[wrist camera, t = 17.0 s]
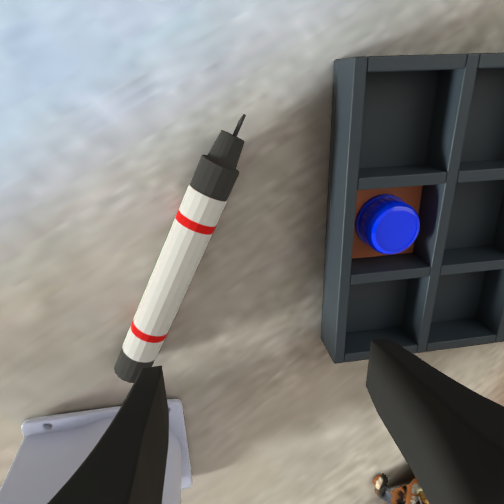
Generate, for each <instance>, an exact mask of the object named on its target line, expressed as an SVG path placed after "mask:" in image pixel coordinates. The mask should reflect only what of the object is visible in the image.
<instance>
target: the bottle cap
mask: <svg viewBox="0 0 504 504" xmlns="http://www.w3.org/2000/svg"><path fill="white" fill-rule="evenodd" d="M355 229H356V233H357V235H358V237H359V238H360V239H361V240H362V241H363V242H364V243H366V244H367V245H369V246H371V247H372V248H373V249H374V250H375V251H377V252H379V253H382V254H396V253H399V252H402V251H404V250H405V249H407V248H408V247H410V246H411V244H412V243H413V242H414V241H415V239H416V237H417V236H418V233H419V229H420V222H419V217H418V214H417V212H416V211H415V210H414V208H412V207H411V206H410V205H408V204H406V203H405V202H404V201H403V200H402V199H400V198H399V197H397V196H395V195H392V194H380V195H377V196H374V197H372V198H370V199H369V200H368V201H366V202H365V203H364V204H363V206H362V207H361V208H360V210H359V212H358V214H357V216H356V220H355Z"/></svg>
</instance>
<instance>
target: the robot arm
mask: <svg viewBox="0 0 504 504" xmlns="http://www.w3.org/2000/svg"><path fill="white" fill-rule="evenodd" d="M366 387H367V389H368V391H369V394H370V396H371V399H372V401H373V403H374V406H375V408H376V410H377V412H378V414H379V416H380V417H381V419H382V421H383V423H384V424H385V426H386V428H387V429H388V431H389V433H390V435H391V436H392V438H393V440H394V441H395V443H396V445H397V446H398V448H399V450H400V451H401V453H402V455H403V456H404V458H405V460H406V461H407V463H408V465H409V466H410V468H411V470H412V471H413V473H414V475H415V477H416V479H417V481H418V482H419V484H420V486H421V488H422V490H423V492H424V495H425V497H426V499H427V501H428V503H429V504H504V407H503V406H501V405H499V404H497V403H495V402H493V401H491V400H489V399H487V398H485V397H483V396H481V395H479V394H478V393H476V392H474V391H472V390H470V389H469V388H467V387H465V386H463V385H462V384H460V383H458V382H456V381H455V380H453V379H451V378H450V377H448V376H446V375H445V374H443V373H441V372H440V371H438V370H437V369H435V368H434V367H432V366H430V365H429V364H427V363H426V362H424V361H423V360H421V359H420V358H418V357H417V356H415V355H414V354H412V353H411V352H409V351H408V350H406V349H405V348H403V347H402V346H400V345H399V344H397V343H396V342H394V341H392V340H391V339H389V338H381V339H373V340H371V345H370V354H369V363H368V372H367V381H366ZM168 407H169V408H168ZM46 423H50V424H51V425H50V424H46ZM21 429H22V432H23V435H24V439H23V441H22V443H21V445H20V448H19V450H18V452H17V454H16V456H15V459H14V461H13V463H12V465H11V467H10V470H9V472H8V474H7V476H6V478H5V481H4V483H3V485H2V487H1V489H0V504H181V490H182V489H187V488H189V487H191V485H192V473H191V465H190V458H189V451H188V443H187V436H186V428H185V421H184V414H183V406H182V402H181V401H180V400H178V399H168V400H167V398H166V391H165V385H164V378H163V372H162V366H156V367H148V368H142V369H141V370H140V371H139V374H138V376H137V378H136V380H135V382H134V384H133V386H132V388H131V390H130V392H129V393H128V395H127V397H126V399H125V401H124V402H123V404H122V406H116V407H109V408H101V409H94V410H87V411H79V412H72V413H65V414H57V415H50V416H42V417H35V418H29V419H26V420H25V421H24V423H23V425H22V427H21Z"/></svg>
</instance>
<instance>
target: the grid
mask: <svg viewBox="0 0 504 504" xmlns="http://www.w3.org/2000/svg"><path fill="white" fill-rule="evenodd" d="M380 194H392V195H395V196H397V197H399V198H400V199H402V200H403V201H404V202H405V203H406V204H408V205H410V206H411V207H412V208H414V210H415V211H416V212H417V214H418V217H419V222H420V229H419V233H418V236H417V237H416V239H415V241H414V242H413V243H412V244H411V246H410V247H408V248H407V249H405V250H404V251H402V252H399V253H396V254H382V253H379V252H377V251H375V250H374V249H373V248H372V247H371V246H369V245H367V244H366V243H364V242H363V241H362V240H361V239H360V238H359V237H358V235H357V233H356V229H355V220H356V216H357V214H358V212H359V210H360V208H361V207H362V206H363V204H364V203H365V202H366V201H368V200H369V199H370V198H372V197H374V196H377V195H380ZM381 338H389V339H391V340H392V341H394V342H396V343H397V344H399V345H400V346H402V347H403V348H405V349H406V350H408V351H409V352H411V353H416V352H417V353H420V352H425V351H435V350H443V349H450V348H458V347H466V346H473V345H481V344H488V343H494V342H503V341H504V53H472V54H435V55H398V56H368V57H366V56H362V57H350V58H343V59H336V60H335V61H334V79H333V99H332V120H331V141H330V161H329V182H328V202H327V223H326V244H325V264H324V285H323V305H322V326H321V339H322V341H323V343H324V345H325V347H326V349H327V351H328V353H329V354H330V356H331V358H332V360H333V362H334V363H343V362H351V361H358V360H366V359H369V354H370V345H371V340H373V339H381Z"/></svg>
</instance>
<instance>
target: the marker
mask: <svg viewBox="0 0 504 504" xmlns="http://www.w3.org/2000/svg"><path fill="white" fill-rule="evenodd" d="M245 116H246V115H245V114H244V115H243V116H242V117H241V118H240V120H239V122H238V124H237V126H236V129H235V131H234V133H233V135H232V134H230V133H228V132H225V131H223V130H221V132H220V134H219V136H218V138H217V139H216V141H215V143H214V145H213V147H212V148H211V150H210V152H209V154H208V156H207V155H202V157H201V159H200V162H199V164H198V167H197V169H196V171H195V174H194V176H193V179H192V181H191V183H190V184H189V186H188V188H187V191H186V193H185V196H184V198H183V201H182V203H181V205H180V208H179V210H178V213H177V215H176V217H175V220H174V222H173V225H172V227H171V230H170V232H169V234H168V237H167V239H166V242H165V244H164V246H163V249H162V251H161V254H160V256H159V259H158V261H157V263H156V266H155V268H154V271H153V273H152V275H151V278H150V280H149V283H148V285H147V288H146V290H145V292H144V295H143V297H142V300H141V302H140V304H139V307H138V309H137V312H136V314H135V317H134V319H133V321H132V324H131V326H130V329H129V331H128V333H127V336H126V338H125V341H124V343H123V347H122V350H121V352H120V355H119V357H118V360H117V362H116V364H115V368H114V369H115V373H116V374H117V375H118V377H119V378H121V379H122V380H124V381H127V382H130V383H134V382H135V380H136V378H137V376H138V374H139V371H140V370H141V369H142V368H148V367H152V365H153V363H154V360H155V359H156V357H157V356H158V353H159V351H160V349H161V347H162V345H163V342H164V340H165V338H166V336H167V334H168V331H169V329H170V327H171V325H172V322H173V320H174V318H175V316H176V314H177V311H178V309H179V307H180V305H181V303H182V300H183V298H184V296H185V294H186V292H187V289H188V287H189V285H190V283H191V280H192V278H193V276H194V274H195V272H196V269H197V267H198V265H199V263H200V261H201V258H202V256H203V254H204V252H205V250H206V247H207V245H208V243H209V241H210V238H211V236H212V234H213V232H214V230H215V227H216V225H217V223H218V221H219V219H220V216H221V214H222V212H223V210H224V208H225V205H226V203H227V199H228V197H229V194H230V192H231V190H232V188H233V186H234V183H235V181H236V179H237V177H238V174H239V171H238V170H237V169H236V166H237V163H238V160H239V157H240V154H241V151H242V148H243V144H244V140H242V139H240V138H238V137H237V134H238V132H239V130H240V128H241V125H242V123H243V121H244V118H245Z"/></svg>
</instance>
